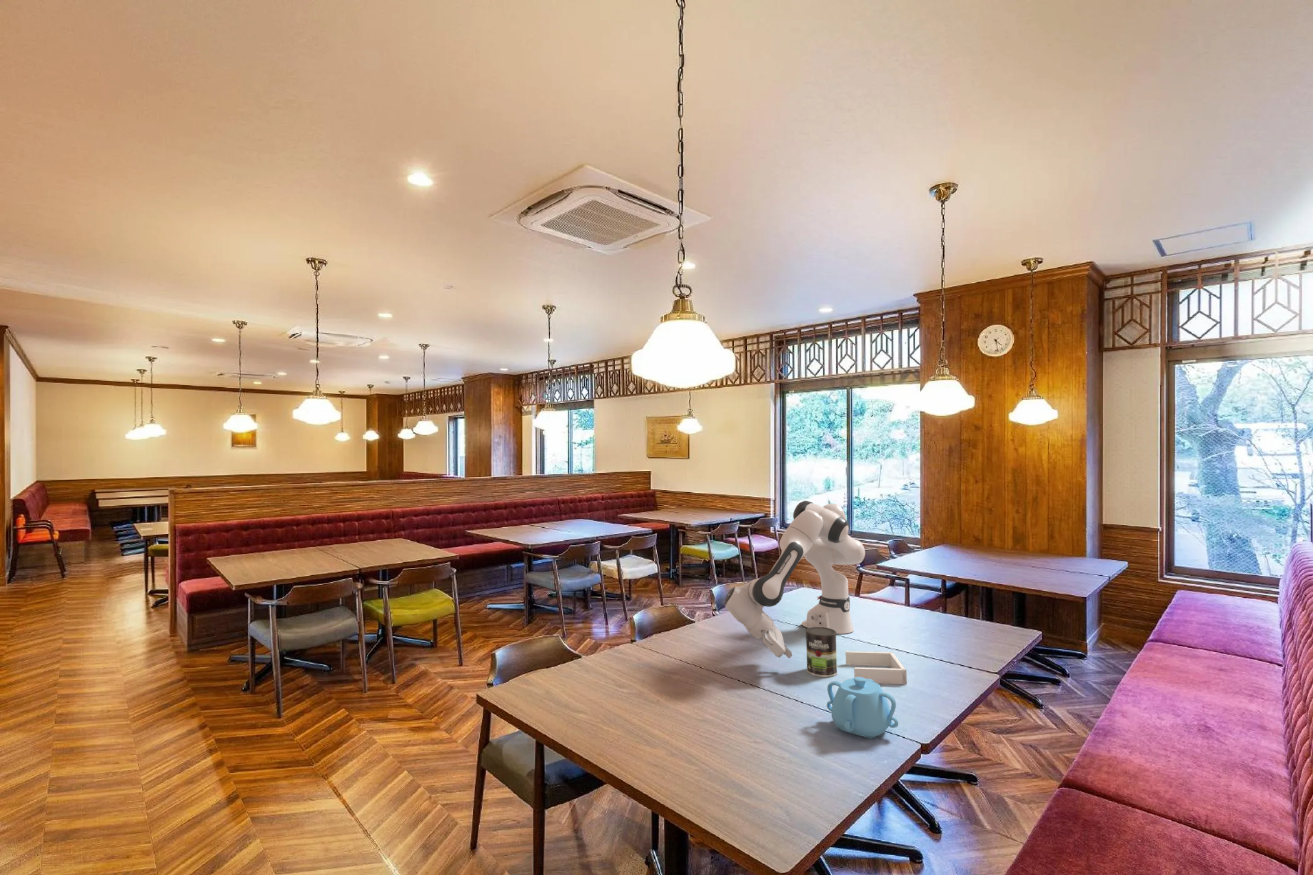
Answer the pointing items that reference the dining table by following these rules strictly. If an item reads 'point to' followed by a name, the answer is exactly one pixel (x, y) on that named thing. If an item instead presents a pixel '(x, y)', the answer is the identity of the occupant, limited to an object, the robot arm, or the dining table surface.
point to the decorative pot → (861, 707)
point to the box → (877, 659)
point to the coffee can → (821, 651)
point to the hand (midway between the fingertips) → (790, 655)
